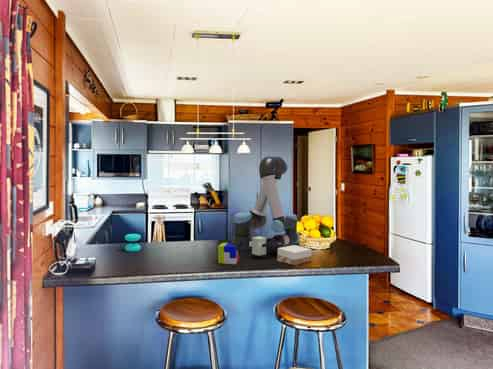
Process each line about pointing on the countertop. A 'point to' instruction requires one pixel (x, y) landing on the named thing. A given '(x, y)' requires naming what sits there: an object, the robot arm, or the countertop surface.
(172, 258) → the countertop surface
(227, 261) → the puzzle toy
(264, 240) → the sage block
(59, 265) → the countertop surface
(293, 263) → the tower base
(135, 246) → the teal spool
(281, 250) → the tower top
